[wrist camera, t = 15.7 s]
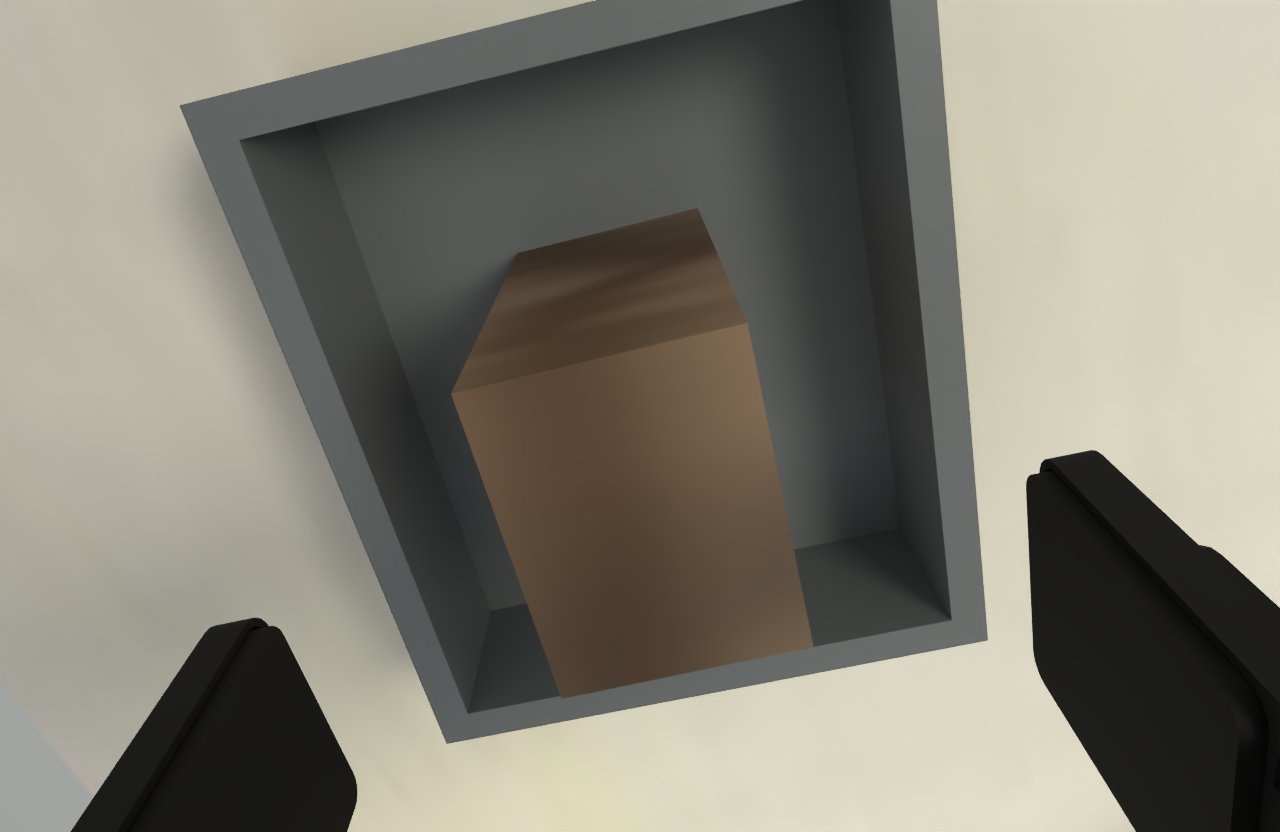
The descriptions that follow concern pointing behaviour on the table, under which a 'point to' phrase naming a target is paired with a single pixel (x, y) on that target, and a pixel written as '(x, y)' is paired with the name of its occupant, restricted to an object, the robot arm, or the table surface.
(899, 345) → the bin
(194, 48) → the table surface
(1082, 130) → the table surface
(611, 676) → the walnut block
